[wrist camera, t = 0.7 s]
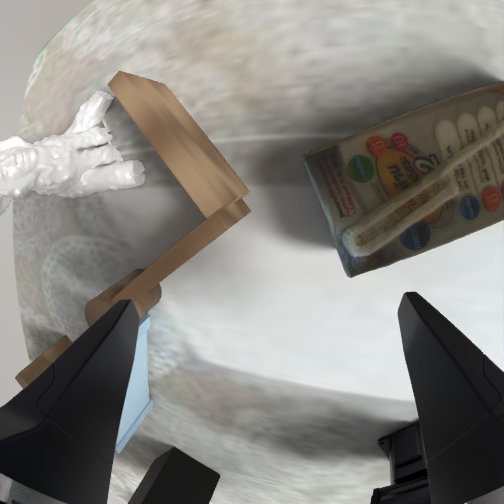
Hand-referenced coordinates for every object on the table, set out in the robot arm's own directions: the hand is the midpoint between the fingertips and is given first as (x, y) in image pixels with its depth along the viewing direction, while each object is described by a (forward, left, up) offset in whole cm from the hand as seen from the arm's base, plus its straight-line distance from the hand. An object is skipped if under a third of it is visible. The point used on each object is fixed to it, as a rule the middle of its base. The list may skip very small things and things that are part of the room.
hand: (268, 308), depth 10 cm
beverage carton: (-2, -11, -14) cm, 18 cm away
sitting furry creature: (+15, +11, -14) cm, 23 cm away
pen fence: (+8, +22, -13) cm, 27 cm away
